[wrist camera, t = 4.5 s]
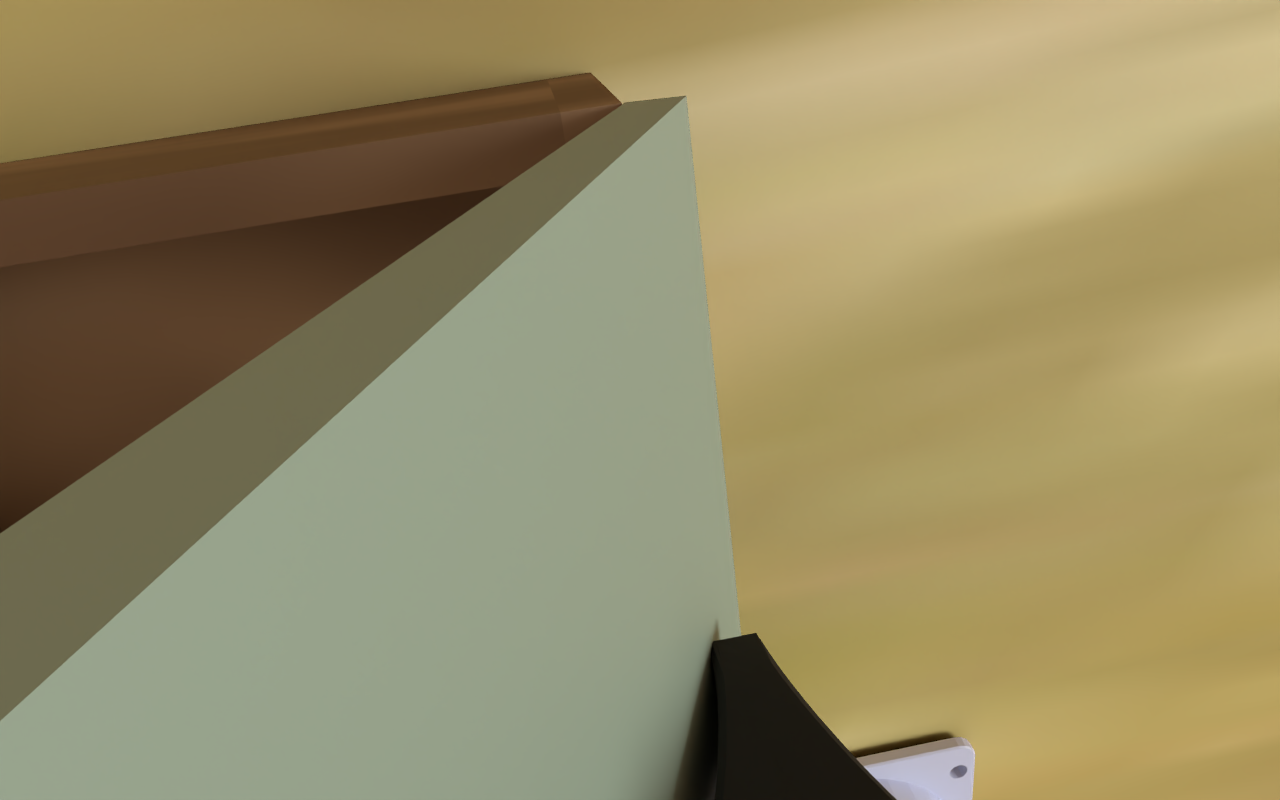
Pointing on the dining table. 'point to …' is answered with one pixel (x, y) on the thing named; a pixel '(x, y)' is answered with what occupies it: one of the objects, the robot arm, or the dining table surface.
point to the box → (224, 254)
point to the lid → (412, 530)
